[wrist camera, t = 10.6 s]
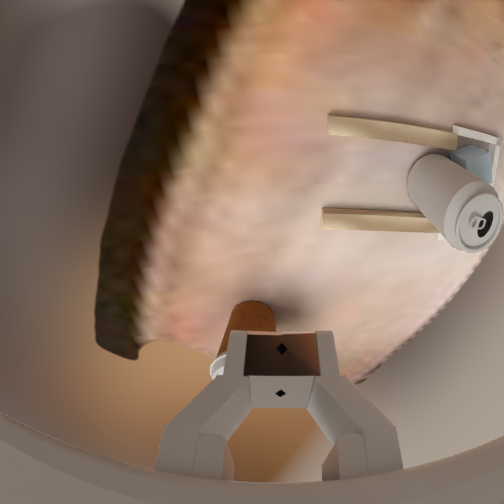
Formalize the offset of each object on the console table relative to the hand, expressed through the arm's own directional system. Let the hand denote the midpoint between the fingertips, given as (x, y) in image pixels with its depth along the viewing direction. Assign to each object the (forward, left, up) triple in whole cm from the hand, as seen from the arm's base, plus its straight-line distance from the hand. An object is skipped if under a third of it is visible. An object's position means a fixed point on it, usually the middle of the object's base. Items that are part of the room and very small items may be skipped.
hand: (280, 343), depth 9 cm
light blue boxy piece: (0, +24, -27) cm, 36 cm away
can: (+3, +19, -27) cm, 33 cm away
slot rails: (+3, +14, -27) cm, 30 cm away
